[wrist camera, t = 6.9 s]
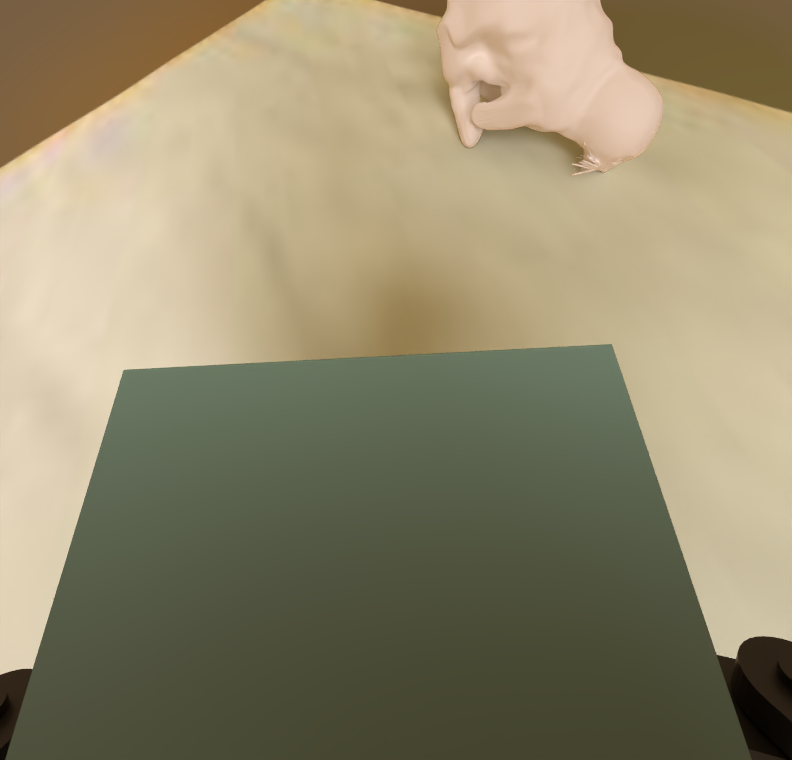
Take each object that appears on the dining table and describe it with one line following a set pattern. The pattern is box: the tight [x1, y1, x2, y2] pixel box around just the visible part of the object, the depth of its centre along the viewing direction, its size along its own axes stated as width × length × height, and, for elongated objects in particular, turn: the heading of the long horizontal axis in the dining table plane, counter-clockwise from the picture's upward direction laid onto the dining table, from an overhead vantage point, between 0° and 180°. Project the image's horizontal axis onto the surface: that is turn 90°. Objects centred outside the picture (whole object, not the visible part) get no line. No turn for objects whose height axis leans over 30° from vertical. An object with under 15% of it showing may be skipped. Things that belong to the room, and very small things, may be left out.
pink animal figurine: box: [437, 0, 663, 175], centre depth 21 cm, size 6×8×12 cm
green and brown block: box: [5, 344, 752, 760], centre depth 8 cm, size 5×5×12 cm
